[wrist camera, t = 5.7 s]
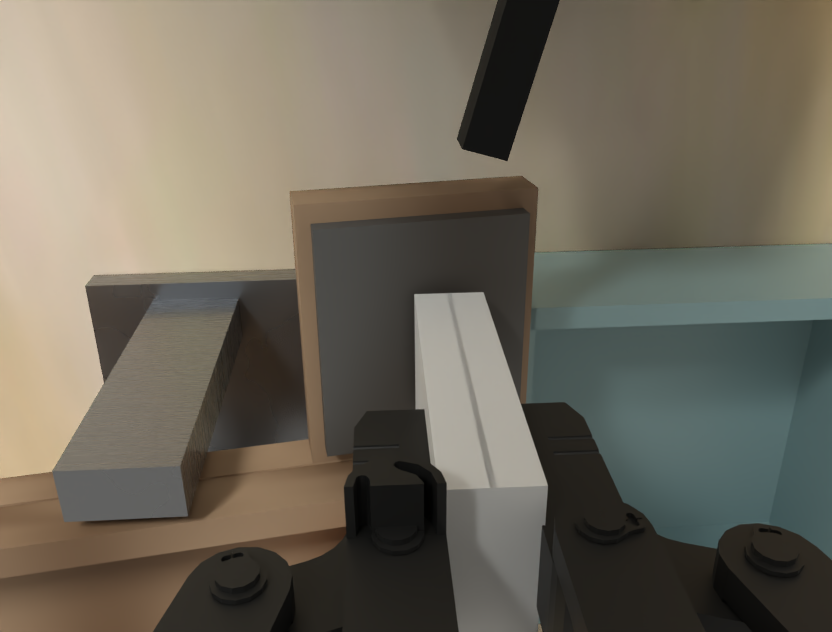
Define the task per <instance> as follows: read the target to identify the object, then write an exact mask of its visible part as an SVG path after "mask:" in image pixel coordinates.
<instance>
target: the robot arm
mask: <svg viewBox="0 0 832 632" xmlns="http://www.w3.org/2000/svg"><path fill="white" fill-rule="evenodd" d="M414 316H415V402H416V409H412V410H383V411H366V413H365V414H364V415H363V417H362V418H361V419H360V421H359V422H358V423H357V425H356V426H355V427H354V444H353V449H354V450H353V470H352V472H351V473H350V474H349V475H348V477H347V479H346V482H345V485H344V502H345V519H346V535H345V536H344V538H343V540H342V541H341V542H339V543H338V544H337V545H336V546H335V547H334V548H333V549H331V550H330V551H328V552H326V553H325V554H323V555H321V556H319V557H316V558H314V559H311V560H308V561H305V562H302V563H298V564H295V565H291V566H289V565H288V562H287V561H286V560H285V559H283V558H282V557H281V556H280V555H278V554H277V553H276V552H273V551H270V550H267V549H263V548H260V547H237V548H234V549H230V550H226V551H223V552H219V553H217V554H215V555H213V556H212V557H210V558H208V559H206V560H205V561H203V562H201V563H200V564H199V565H198V566H197V567H196V568H195V569H194V570H193V572H192V573H191V574H190V575H189V576H188V577H187V579H186V580H185V582H184V584H183V585H182V587H181V588H180V590H179V591H178V593H177V595H176V596H175V598H174V599H173V601H172V602H171V604H170V605H169V607H168V609H167V610H166V612H165V613H164V615H163V616H162V618H161V620H160V621H159V623H158V624H157V626H156V627H155V629H154V630H153V632H538V621H539V619H540V623H541V627H542V631H543V632H832V560H831V559H830V558H829V557H828V556H827V555H826V554H825V553H823V552H822V551H821V550H820V549H819V548H818V547H817V546H815V545H814V544H812V543H811V542H809V541H808V540H806V539H805V538H803V537H802V536H800V535H799V534H796V533H794V532H791V531H789V530H786V529H784V528H781V527H778V526H772V525H766V524H760V523H753V524H739V525H737V526H735V527H733V528H730V529H728V530H726V531H725V532H724V534H723V535H722V536H721V538H720V539H719V541H718V546H717V549H716V548H710V547H705V546H699V545H694V544H688V543H683V542H679V541H675V540H671V539H667V538H665V537H663V536H660V535H658V534H657V533H656V531H655V529H654V527H653V525H652V524H651V523H650V521H649V520H648V519H647V518H646V516H645V515H644V514H643V513H642V512H640V511H638V510H637V509H635V508H634V507H632V506H630V505H629V504H626V503H623V501H622V499H621V496H620V494H619V492H618V490H617V488H616V486H615V483H614V481H613V479H612V477H611V475H610V473H609V470H608V468H607V466H606V464H605V462H604V460H603V457H602V455H601V454H599V449H598V447H597V444H596V442H595V440H594V439H592V434H591V432H590V429H589V427H588V425H587V423H586V421H585V419H584V417H583V416H582V415H580V414H579V413H578V412H577V411H575V410H574V409H573V408H572V407H570V406H569V405H568V404H567V403H565V402H554V403H525V404H521V403H520V400H519V397H518V394H517V391H516V388H515V385H514V382H513V379H512V376H511V373H510V370H509V367H508V364H507V361H506V358H505V355H504V352H503V349H502V346H501V343H500V340H499V337H498V334H497V331H496V328H495V325H494V322H493V319H492V316H491V313H490V310H489V307H488V304H487V301H486V298H485V295H484V292H472V293H438V294H414Z"/></svg>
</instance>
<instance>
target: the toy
mask: <svg viewBox="0 0 832 632" xmlns="http://www.w3.org/2000/svg"><path fill="white" fill-rule="evenodd" d="M559 1H560V0H498V2H497V5H496V9H495V12H494V15H493V19H492V22H491V26H490V29H489V32H488V36H487V39H486V42H485V46H484V49H483V53H482V56H481V59H480V63H479V66H478V69H477V73H476V76H475V80H474V83H473V86H472V90H471V93H470V96H469V100H468V103H467V107H466V110H465V113H464V117H463V120H462V123H461V127H460V130H459V134H458V137H457V140H458V142H459V144H460V146H461V148H462V149H464V150H468V151H471V152H475V153H479V154H483V155H486V156H490V157H494V158H498V159H501V160H505V161H508V158H509V154H510V151H511V148H512V145H513V142H514V139H515V136H516V133H517V130H518V127H519V124H520V121H521V118H522V114H523V111H524V108H525V105H526V102H527V99H528V96H529V93H530V90H531V87H532V84H533V81H534V78H535V74H536V71H537V68H538V65H539V62H540V59H541V56H542V53H543V50H544V47H545V44H546V41H547V38H548V34H549V31H550V28H551V25H552V22H553V19H554V16H555V13H556V10H557V7H558V4H559Z"/></svg>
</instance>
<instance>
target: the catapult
mask: <svg viewBox="0 0 832 632" xmlns="http://www.w3.org/2000/svg"><path fill="white" fill-rule="evenodd" d="M537 201H538V187H536V186H535V185H534V184H532V183H531V182H530V181H528V180H527V179H525V178H524V177H523V176H512V177H497V178H482V179H467V180H453V181H438V182H423V183H408V184H393V185H378V186H363V187H348V188H333V189H319V190H304V191H290V203H291V216H292V229H293V242H294V256H295V269H296V282H297V295H298V308H299V321H300V334H301V348H302V361H303V374H304V387H305V400H306V413H307V426H308V439H307V440H299V441H291V442H283V443H275V444H267V445H260V446H252V447H244V448H236V449H228V450H221V451H213V452H207V455H206V459H205V462H204V465H203V469H202V472H201V475H200V478H199V482H198V485H197V488H196V492H195V495H194V498H193V502H192V505H191V508H190V511H189V515H188V516H183V517H162V518H141V519H120V520H99V521H78V522H64V519H63V515H62V511H61V506H60V502H59V498H58V494H57V490H56V485H55V481H54V477H53V473H52V472H49V473H41V474H33V475H25V476H17V477H10V478H2V479H0V632H153V630H154V629H155V627H156V626H157V624H158V623H159V621H160V620H161V618H162V616H163V615H164V613H165V612H166V610H167V609H168V607H169V605H170V604H171V602H172V601H173V599H174V598H175V596H176V595H177V593H178V591H179V590H180V588H181V587H182V585H183V584H184V582H185V580H186V579H187V577H188V576H189V575H190V574H191V573H192V572H193V570H194V569H195V568H196V567H197V566H198V565H199V564H200V563H201V562H203V561H205V560H206V559H208V558H210V557H212V556H213V555H215V554H217V553H219V552H223V551H226V550H230V549H234V548H237V547H260V548H263V549H267V550H270V551H273V552H276V553H277V554H278V555H280V556H281V557H282V558H283V559H285V560H286V561H287V562H288V565H289V566H291V565H295V564H298V563H302V562H305V561H308V560H311V559H314V558H316V557H319V556H321V555H323V554H325V553H326V552H328V551H330V550H331V549H333V548H334V547H335V546H336V545H337V544H338V543H339V542H341V541H342V540H343V538H344V536H345V535H346V519H345V502H344V485H345V482H346V479H347V477H348V475H349V474H350V473H351V472H352V470H353V450H354V449H353V444H354V427H355V426H356V425H357V423H358V422H359V421H360V419H361V418H362V417H363V415H364V414H365V413H366V411H383V410H412V409H416V402H415V316H414V294H438V293H472V292H484V295H485V298H486V301H487V304H488V307H489V310H490V313H491V316H492V319H493V322H494V325H495V328H496V331H497V334H498V337H499V340H500V343H501V346H502V349H503V352H504V355H505V358H506V361H507V364H508V367H509V370H510V373H511V376H512V379H513V382H514V385H515V388H516V391H517V394H518V397H519V400H520V403H521V404H525V403H526V393H527V376H528V358H529V341H530V323H531V306H532V288H533V271H534V253H535V236H536V218H537Z"/></svg>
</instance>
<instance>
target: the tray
mask: <svg viewBox="0 0 832 632" xmlns="http://www.w3.org/2000/svg"><path fill="white" fill-rule="evenodd" d="M554 402H565V403H567V404H568V405H569V406H570V407H572V408H573V409H574V410H575V411H577V412H578V413H579V414H580V415H582V416H583V417H584V419H585V421H586V423H587V425H588V427H589V429H590V432H591V434H592V439H594V440H595V442H596V444H597V447H598V449H599V454H601V455H602V457H603V460H604V462H605V464H606V466H607V468H608V470H609V473H610V475H611V477H612V479H613V481H614V483H615V486H616V488H617V490H618V492H619V494H620V496H621V499H622V501H623V503H626V504H629V505H630V506H632V507H634V508H635V509H637V510H638V511H640V512H642V513H643V514H644V515H645V516H646V518H647V519H648V520H649V521H650V523H651V524H652V525H653V527H654V529H655V531H656V533H657V534H658V535H660V536H663V537H665V538H667V539H671V540H675V541H679V542H683V543H688V544H694V545H699V546H705V547H710V548H716V549H717V546H718V541H719V539H720V538H721V536H722V535H723V534H724V532H725V531H726V530H728V529H730V528H733V527H735V526H737V525H739V524H753V523H760V524H766V525H772V526H778V527H781V528H784V529H786V530H789V531H791V532H794V533H796V534H799V535H800V536H802V537H803V538H805V539H806V540H808V541H809V542H811V543H812V544H814V545H815V546H817V547H818V548H819V549H820V550H821V551H822V552H823V553H825V554H826V555H827V556H828V557H829V558H830V559H831V560H832V244H799V245H766V246H732V247H699V248H666V249H633V250H599V251H566V252H535V253H534V271H533V288H532V306H531V323H530V341H529V358H528V376H527V393H526V403H554ZM538 624H541V623H540V619H539V621H538Z"/></svg>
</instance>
